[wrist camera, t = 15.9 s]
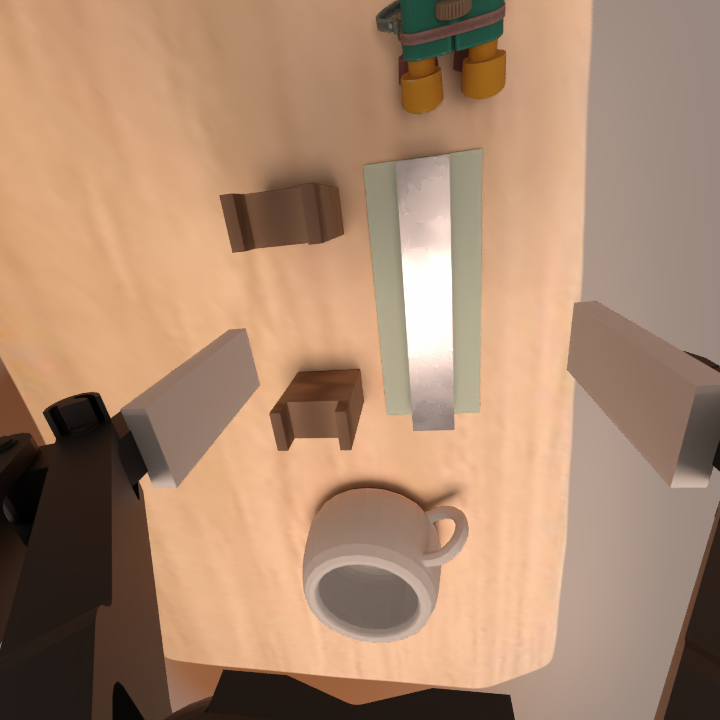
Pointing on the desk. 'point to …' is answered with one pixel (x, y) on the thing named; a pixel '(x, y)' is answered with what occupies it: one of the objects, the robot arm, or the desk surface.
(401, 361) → the mat
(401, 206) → the rail
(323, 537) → the mug
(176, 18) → the desk surface
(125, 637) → the robot arm
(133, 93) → the desk surface
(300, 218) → the rack
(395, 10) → the binoculars
